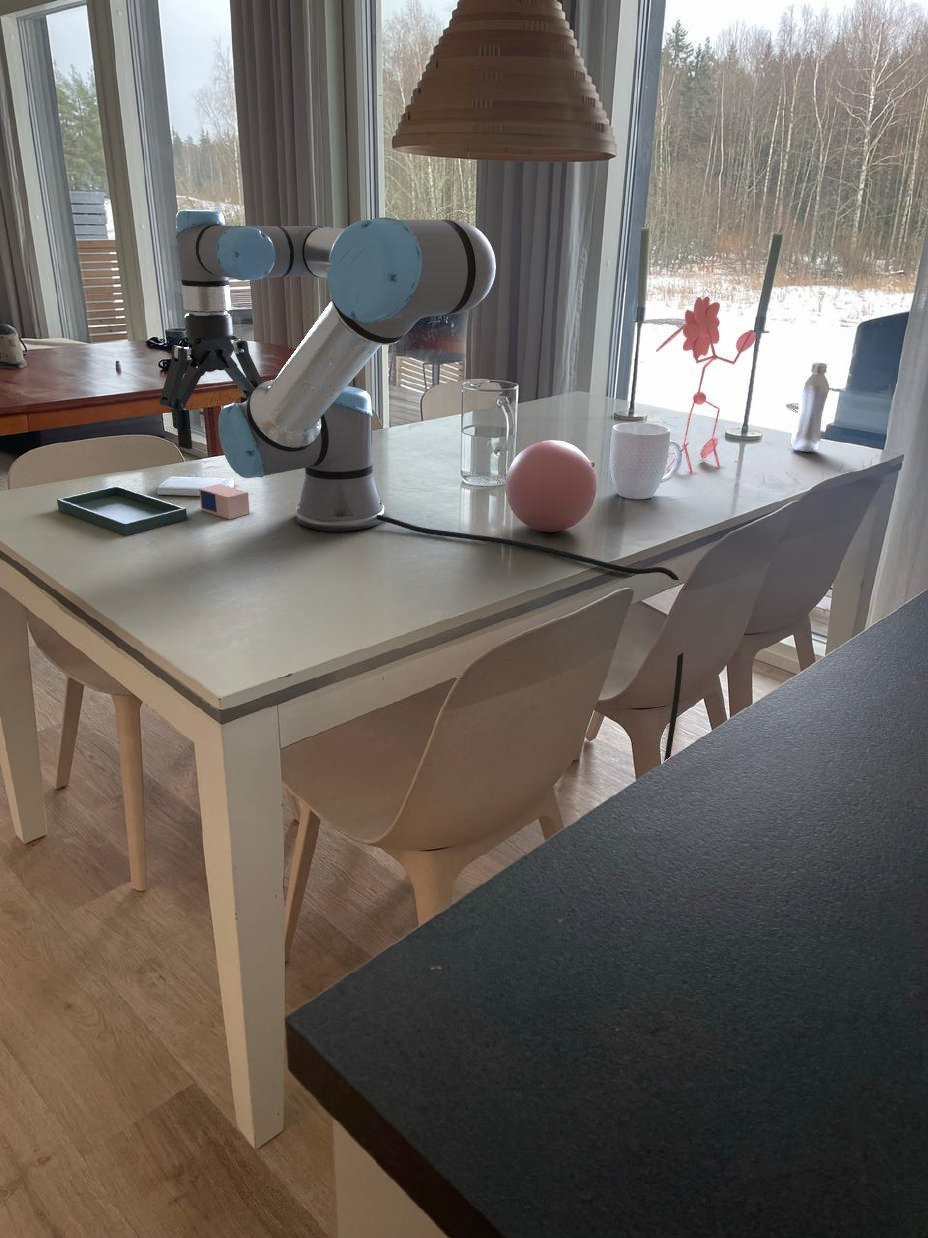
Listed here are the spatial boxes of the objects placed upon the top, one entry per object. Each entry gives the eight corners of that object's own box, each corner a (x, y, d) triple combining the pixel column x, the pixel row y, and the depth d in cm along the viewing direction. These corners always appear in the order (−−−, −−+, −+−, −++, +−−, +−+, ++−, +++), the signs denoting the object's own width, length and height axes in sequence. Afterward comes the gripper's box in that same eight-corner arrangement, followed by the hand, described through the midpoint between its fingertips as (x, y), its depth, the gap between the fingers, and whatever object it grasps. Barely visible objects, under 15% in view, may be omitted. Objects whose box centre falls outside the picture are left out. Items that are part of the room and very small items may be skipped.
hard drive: (156, 487, 174) (221, 489, 173) (171, 475, 181) (233, 477, 181) (157, 495, 175) (222, 497, 174) (172, 483, 182) (234, 485, 182)
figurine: (746, 463, 206) (771, 296, 192) (668, 479, 192) (689, 301, 178) (692, 449, 218) (712, 291, 203) (615, 464, 203) (630, 295, 189)
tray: (187, 519, 162) (186, 508, 161) (126, 535, 153) (125, 524, 152) (118, 496, 174) (117, 485, 173) (58, 510, 165) (56, 499, 164)
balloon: (626, 525, 164) (635, 438, 158) (553, 550, 151) (559, 457, 144) (559, 505, 174) (564, 423, 167) (485, 528, 161) (488, 440, 154)
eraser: (250, 513, 165) (248, 491, 164) (229, 519, 162) (227, 497, 160) (221, 504, 170) (219, 483, 168) (200, 510, 167) (198, 488, 165)
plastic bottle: (821, 450, 219) (837, 363, 211) (814, 455, 214) (830, 366, 206) (793, 446, 222) (808, 360, 214) (786, 451, 217) (800, 364, 209)
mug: (661, 483, 189) (669, 419, 184) (691, 498, 180) (700, 431, 174) (596, 489, 184) (602, 423, 179) (623, 505, 175) (630, 436, 170)
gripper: (252, 305, 163) (260, 426, 172) (127, 315, 145) (143, 449, 154) (281, 309, 159) (287, 432, 168) (155, 320, 141) (170, 457, 150)
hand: (218, 440), depth 161 cm, fingers open, 13 cm apart
